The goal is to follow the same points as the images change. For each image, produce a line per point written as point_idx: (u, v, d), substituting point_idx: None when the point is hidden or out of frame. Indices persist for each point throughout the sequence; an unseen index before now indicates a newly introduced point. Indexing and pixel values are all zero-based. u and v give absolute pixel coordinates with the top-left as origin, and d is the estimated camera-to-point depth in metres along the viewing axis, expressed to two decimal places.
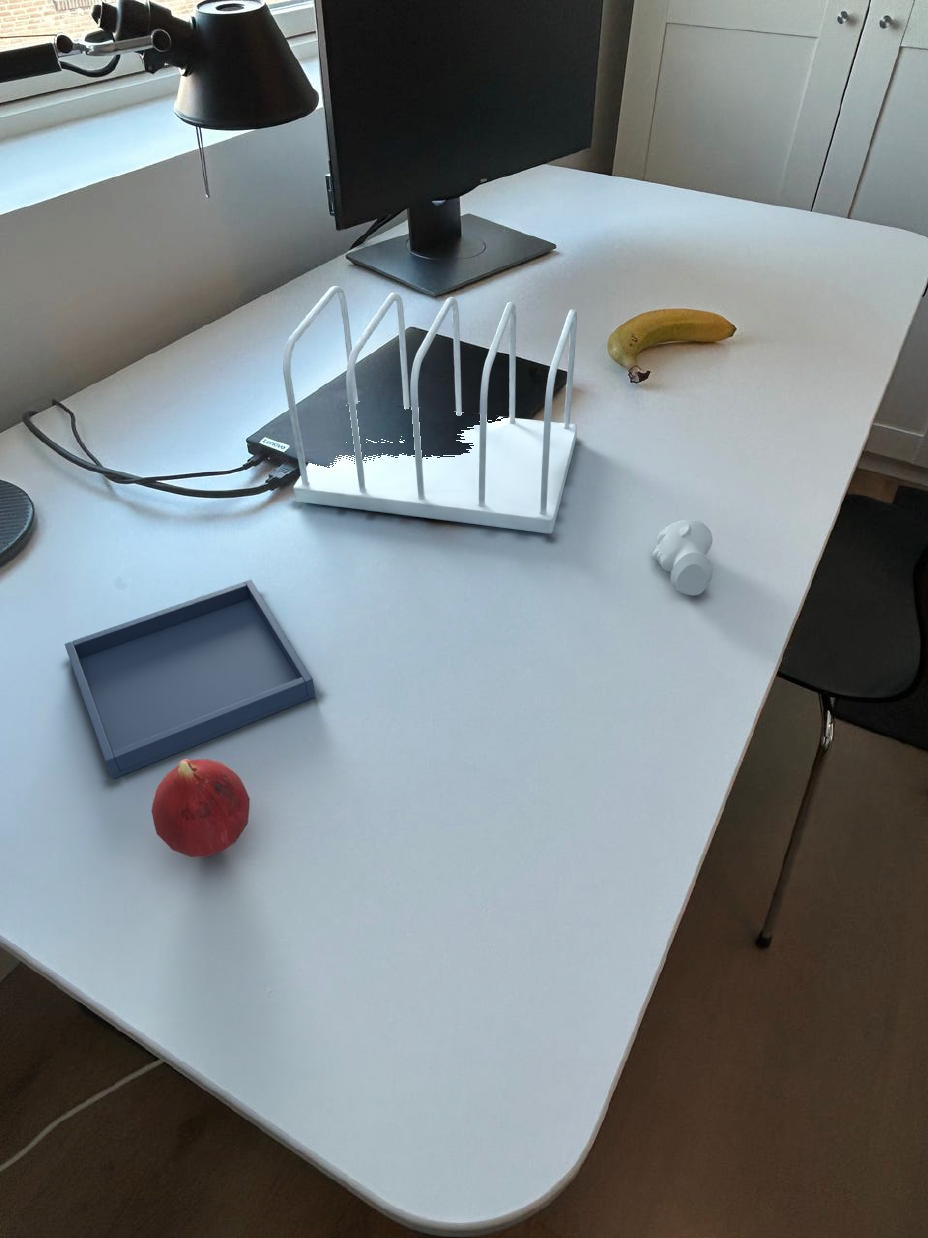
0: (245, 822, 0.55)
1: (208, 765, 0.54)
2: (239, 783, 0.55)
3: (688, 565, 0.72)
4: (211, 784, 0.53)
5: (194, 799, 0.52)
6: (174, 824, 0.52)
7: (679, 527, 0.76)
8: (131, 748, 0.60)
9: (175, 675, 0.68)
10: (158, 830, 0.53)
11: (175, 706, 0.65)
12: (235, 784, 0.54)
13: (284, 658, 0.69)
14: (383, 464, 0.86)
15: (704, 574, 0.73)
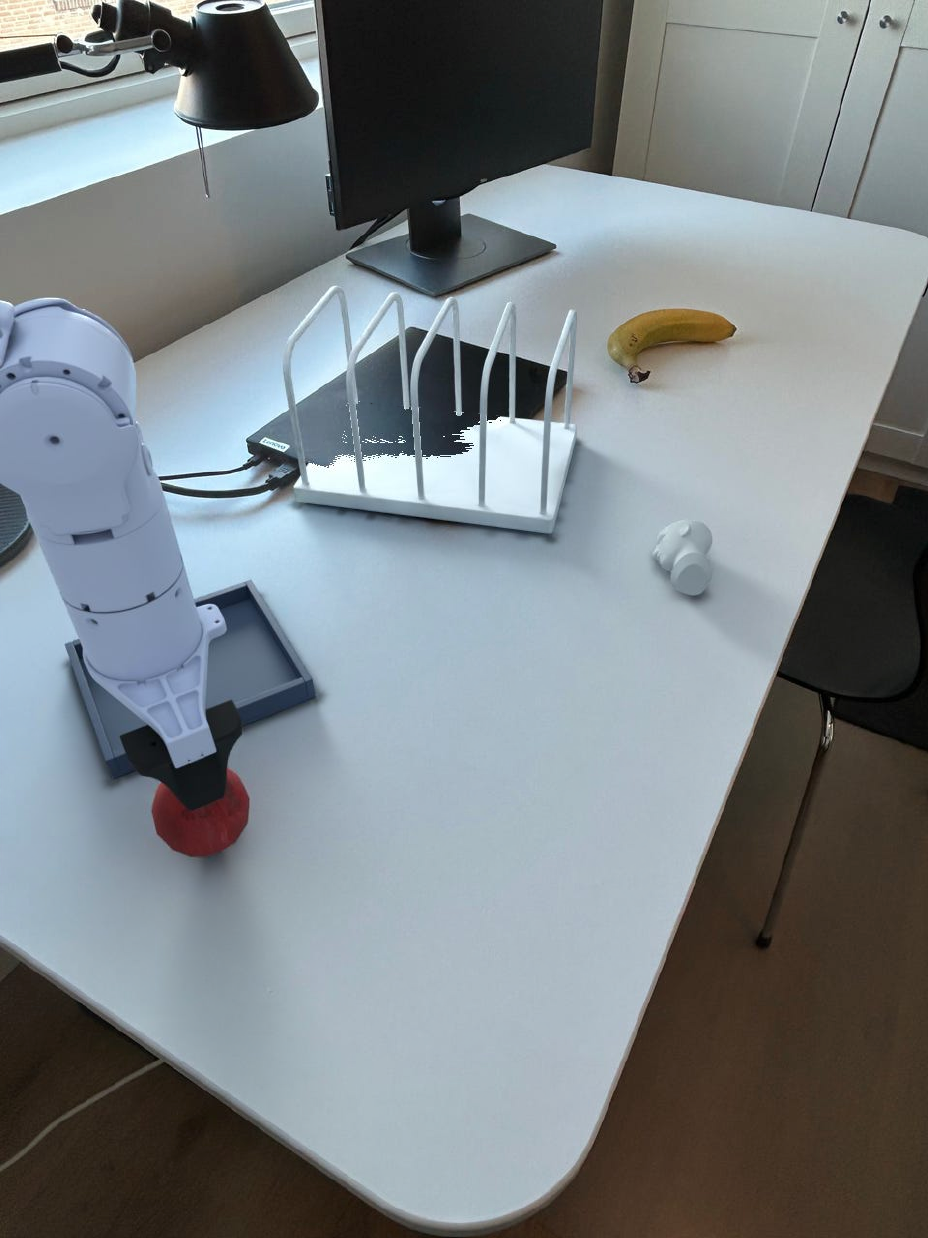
0: (245, 822, 0.55)
1: None
2: (239, 783, 0.55)
3: (688, 565, 0.72)
4: None
5: None
6: (174, 824, 0.52)
7: (679, 527, 0.76)
8: None
9: None
10: (158, 830, 0.53)
11: None
12: (235, 784, 0.54)
13: (284, 658, 0.69)
14: (383, 464, 0.86)
15: (704, 574, 0.73)
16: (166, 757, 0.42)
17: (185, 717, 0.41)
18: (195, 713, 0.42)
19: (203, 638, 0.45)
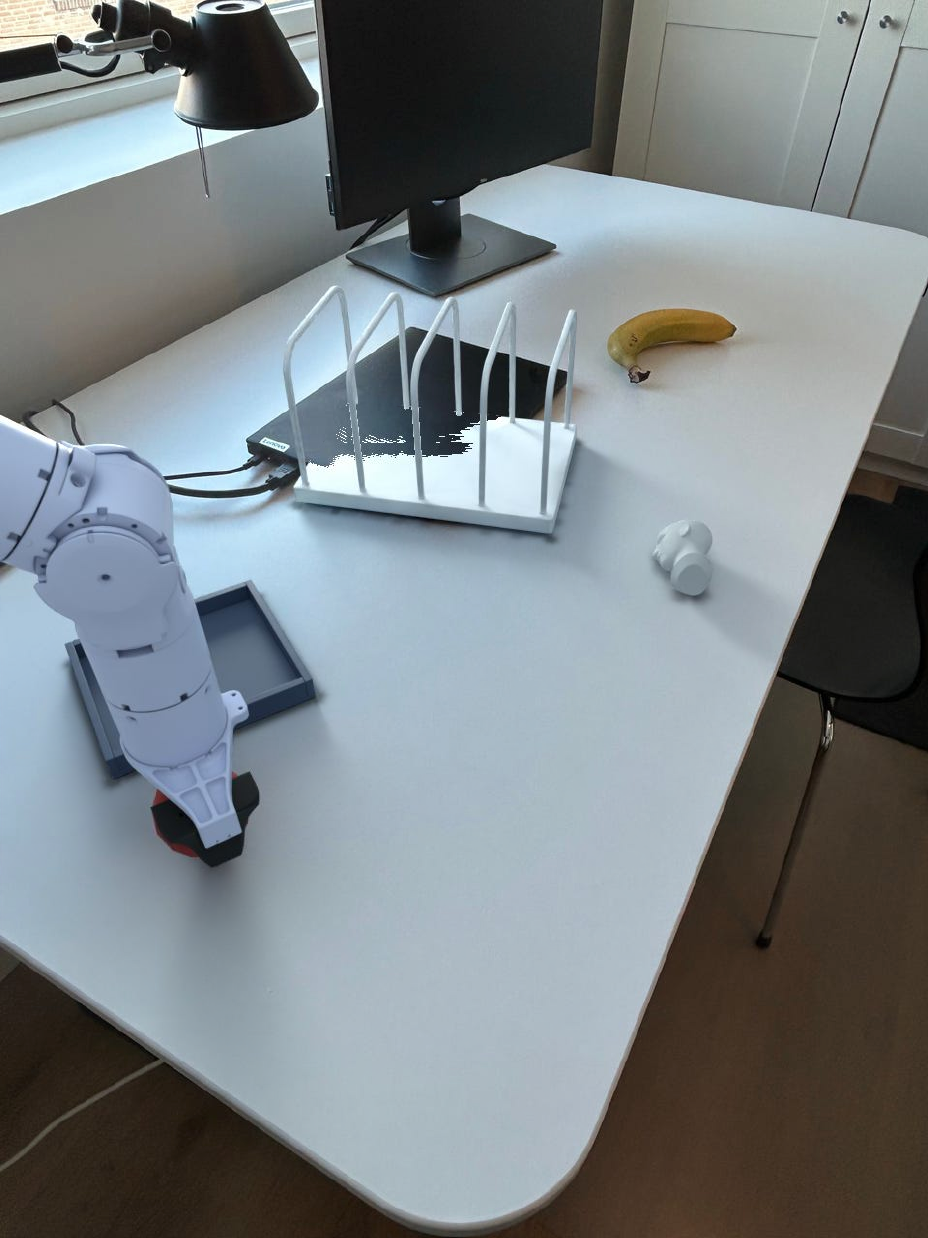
0: None
1: None
2: None
3: (688, 565, 0.72)
4: None
5: None
6: None
7: (679, 527, 0.76)
8: None
9: None
10: (158, 831, 0.53)
11: None
12: None
13: (284, 658, 0.69)
14: (383, 464, 0.86)
15: (704, 574, 0.73)
16: (192, 827, 0.47)
17: (214, 802, 0.46)
18: (222, 798, 0.46)
19: (228, 725, 0.49)
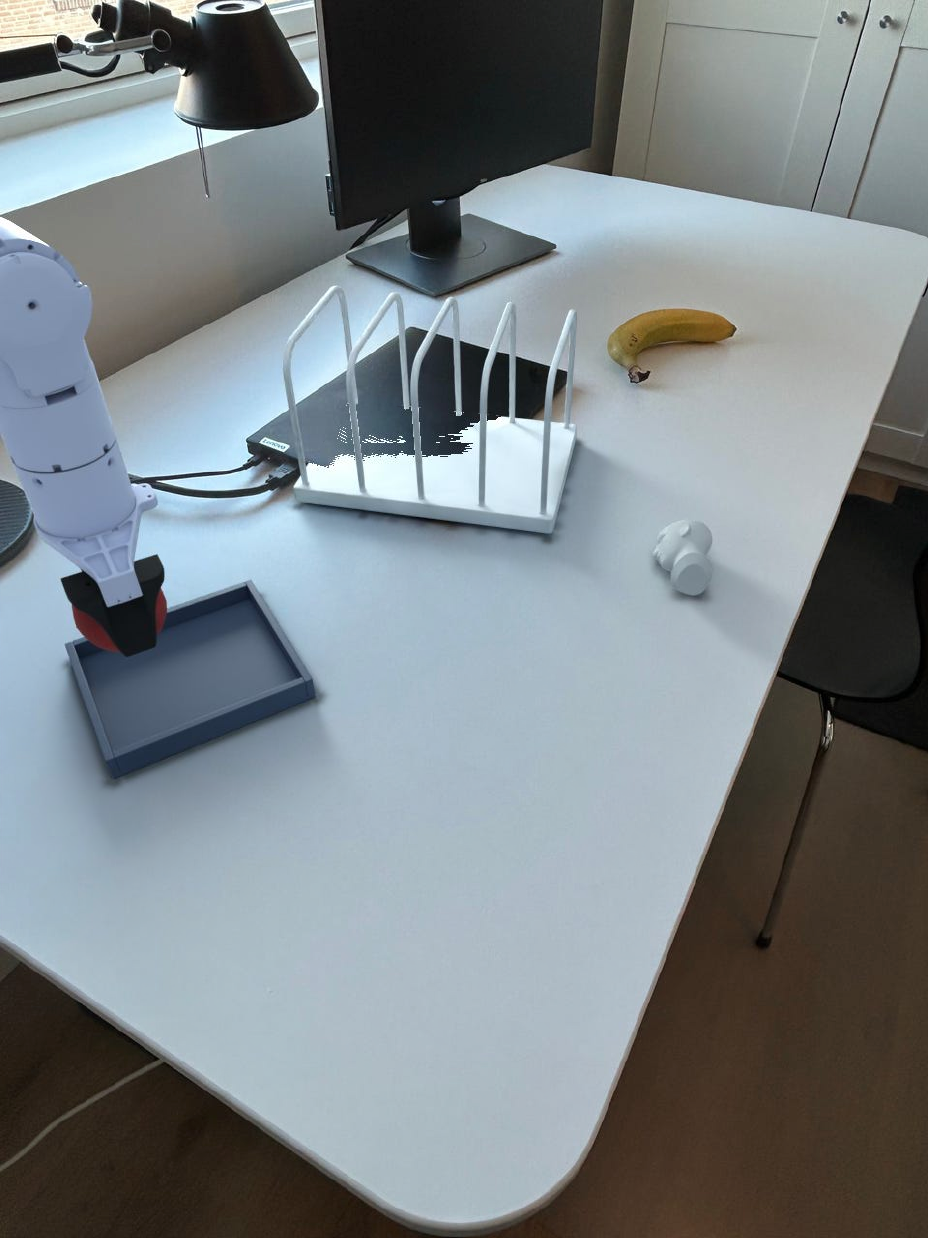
0: (161, 620, 0.58)
1: None
2: None
3: (688, 564, 0.72)
4: None
5: None
6: None
7: (679, 527, 0.76)
8: (131, 748, 0.60)
9: (175, 675, 0.68)
10: (77, 621, 0.56)
11: (175, 706, 0.65)
12: None
13: (284, 658, 0.69)
14: (383, 464, 0.86)
15: (704, 574, 0.73)
16: (98, 593, 0.50)
17: (116, 565, 0.49)
18: (125, 563, 0.50)
19: (136, 508, 0.53)
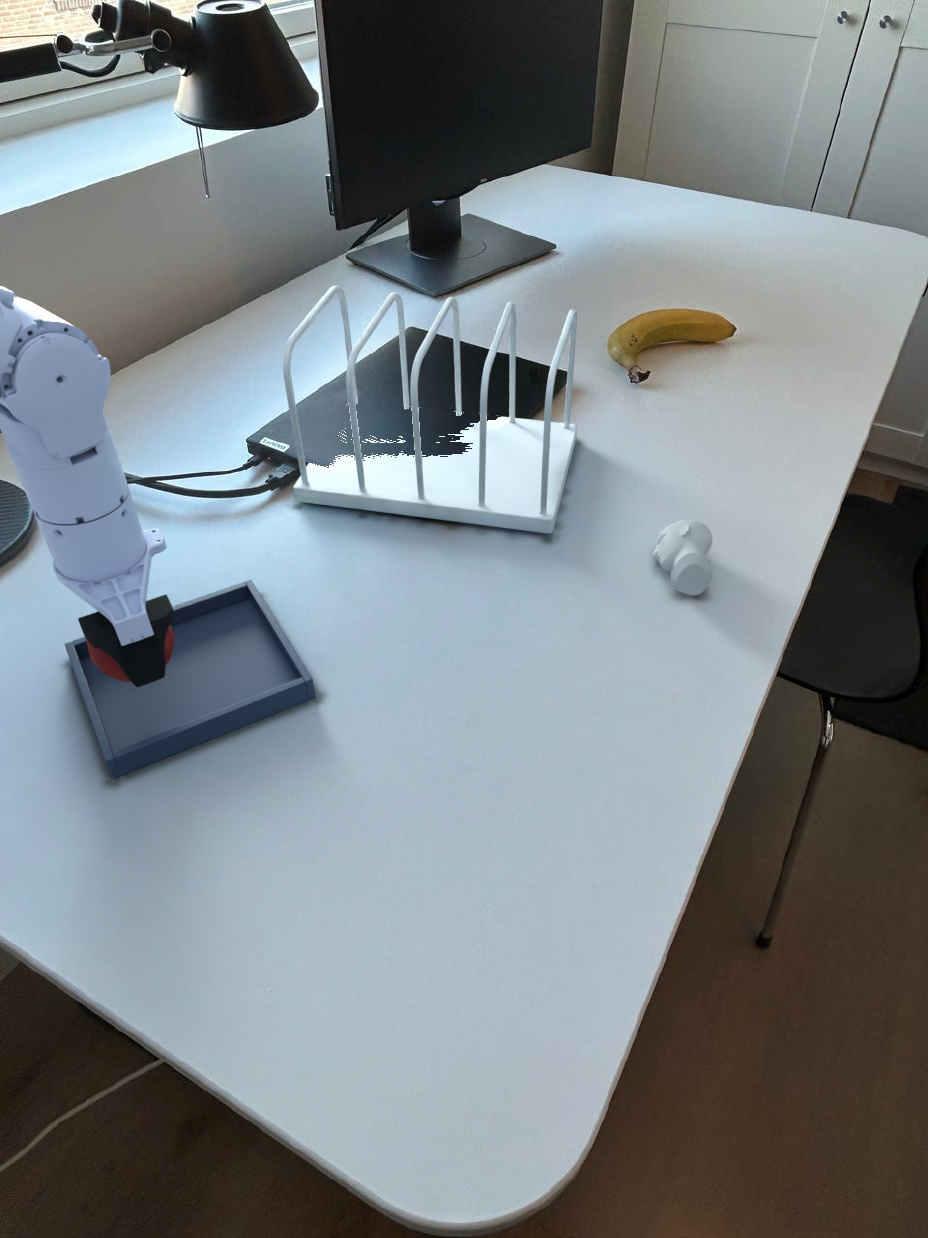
0: (169, 652, 0.63)
1: None
2: None
3: (688, 565, 0.72)
4: None
5: None
6: None
7: (679, 527, 0.76)
8: (131, 748, 0.60)
9: (175, 675, 0.68)
10: (91, 654, 0.61)
11: (175, 706, 0.65)
12: None
13: (284, 658, 0.69)
14: (383, 464, 0.86)
15: (704, 574, 0.73)
16: (112, 632, 0.55)
17: (129, 607, 0.54)
18: (137, 605, 0.54)
19: (147, 552, 0.58)
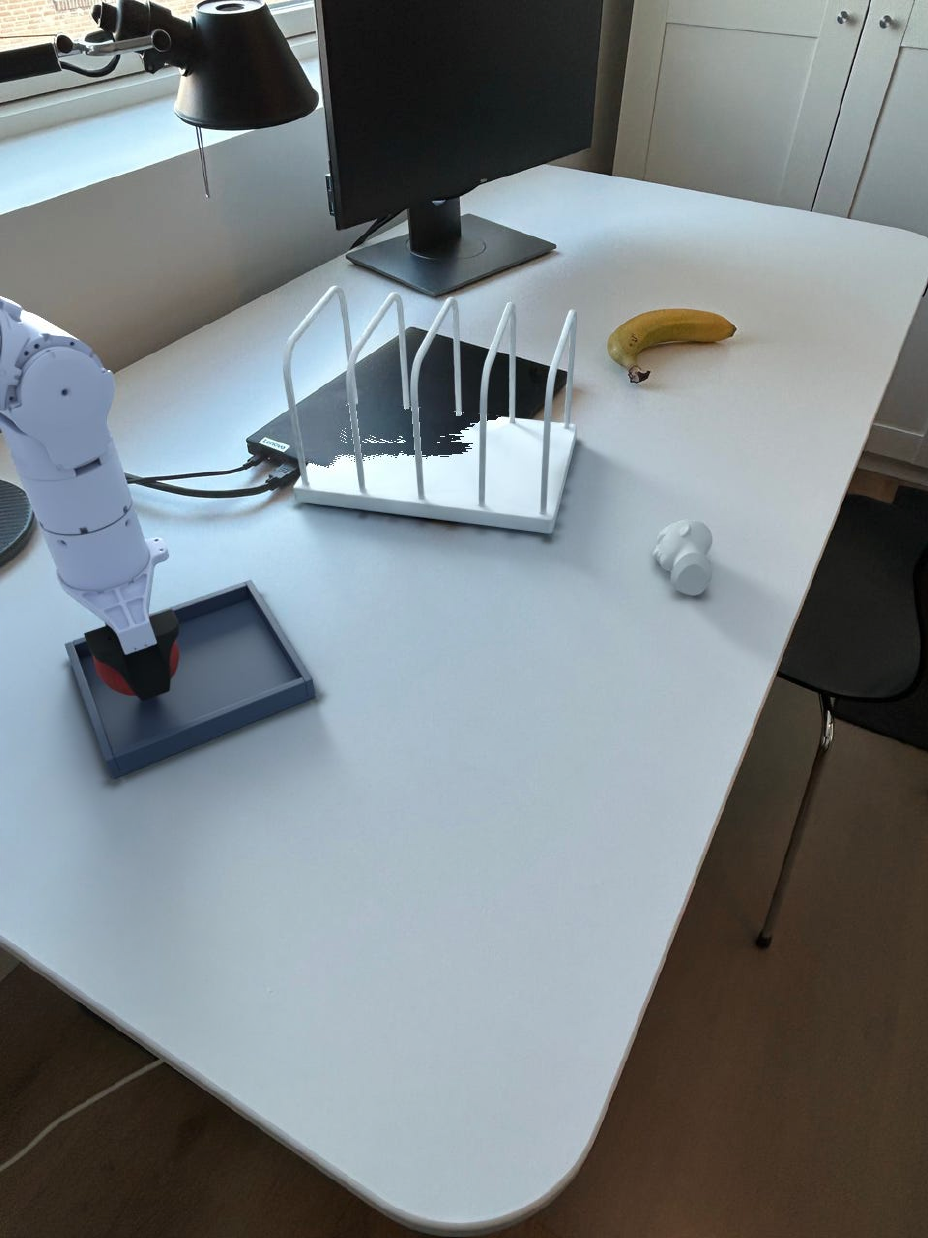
0: (174, 667, 0.64)
1: None
2: None
3: (688, 565, 0.72)
4: None
5: None
6: None
7: (679, 527, 0.76)
8: (131, 748, 0.60)
9: (175, 675, 0.68)
10: (98, 669, 0.62)
11: (175, 706, 0.65)
12: None
13: (284, 658, 0.69)
14: (383, 464, 0.86)
15: (705, 574, 0.73)
16: (119, 648, 0.55)
17: (132, 616, 0.55)
18: (140, 614, 0.55)
19: (149, 561, 0.58)
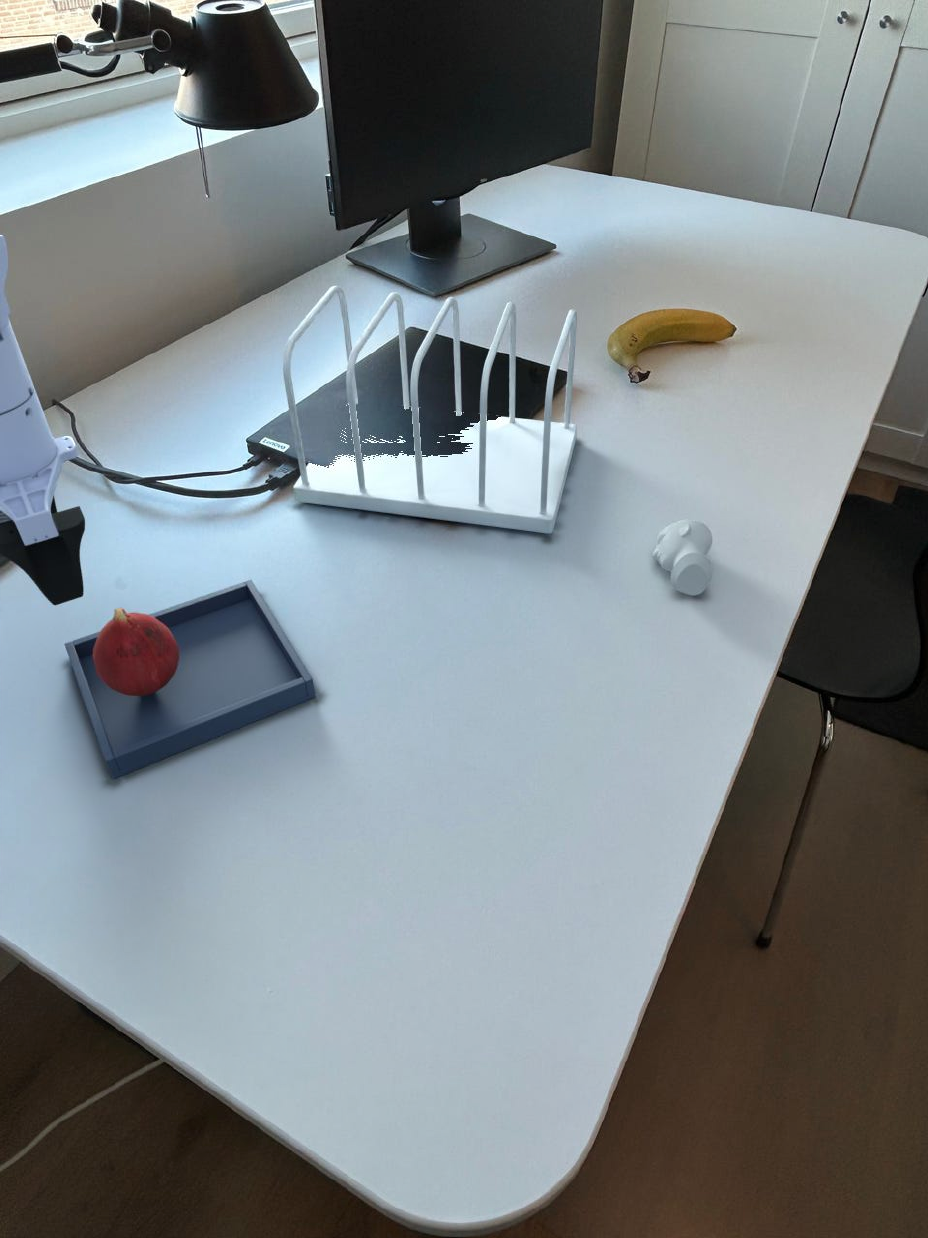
0: (174, 667, 0.64)
1: (141, 615, 0.63)
2: (169, 633, 0.64)
3: (688, 565, 0.72)
4: (142, 629, 0.62)
5: (127, 640, 0.61)
6: (110, 662, 0.61)
7: (679, 527, 0.76)
8: (131, 748, 0.60)
9: (175, 675, 0.68)
10: (98, 669, 0.62)
11: (175, 706, 0.65)
12: (165, 633, 0.63)
13: (284, 658, 0.69)
14: (383, 464, 0.86)
15: (704, 574, 0.73)
16: (20, 540, 0.54)
17: (33, 507, 0.54)
18: (42, 505, 0.54)
19: (56, 457, 0.57)
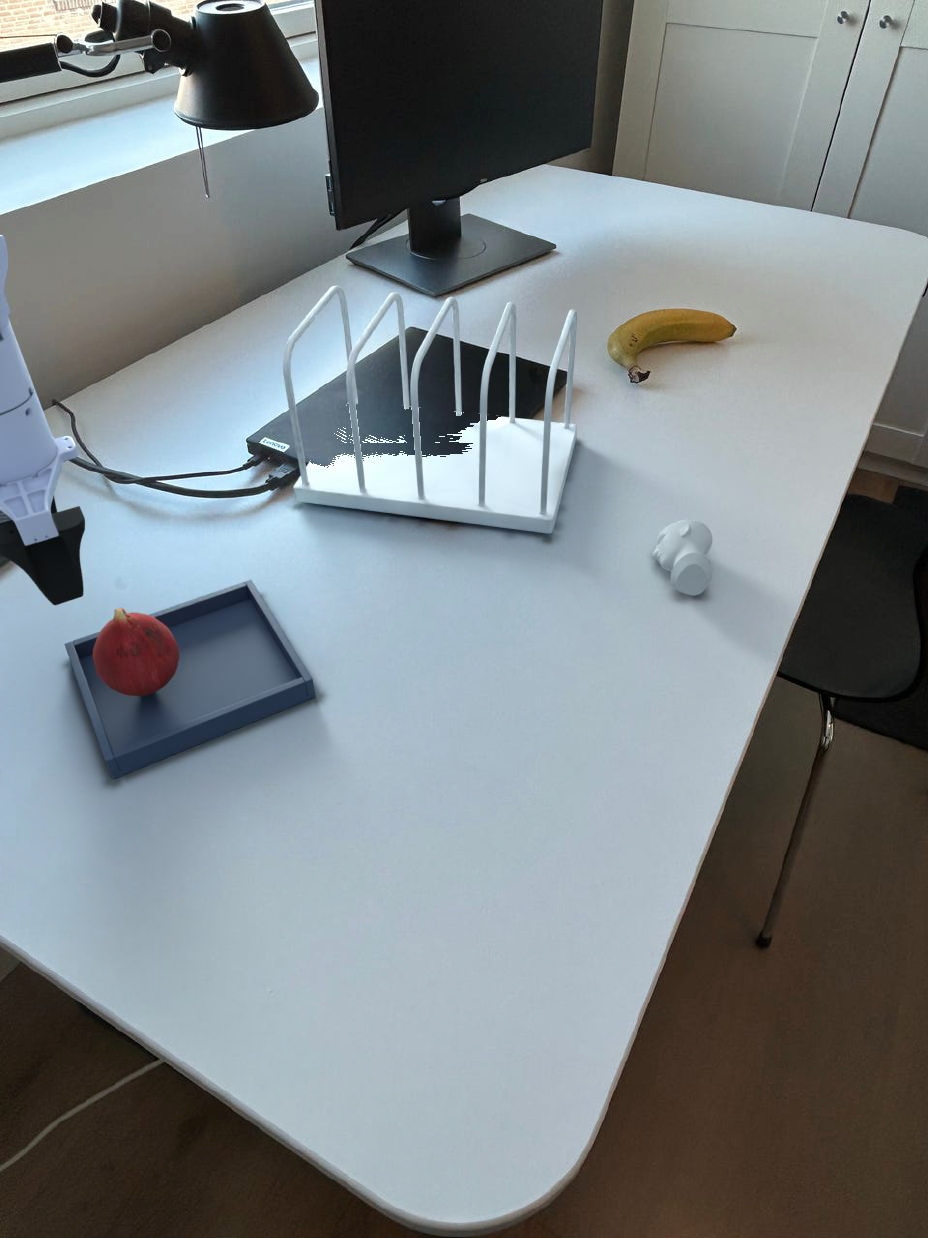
0: (174, 667, 0.64)
1: (141, 615, 0.63)
2: (169, 633, 0.64)
3: (688, 565, 0.72)
4: (142, 629, 0.62)
5: (127, 640, 0.61)
6: (110, 662, 0.61)
7: (679, 527, 0.76)
8: (131, 748, 0.60)
9: (175, 675, 0.68)
10: (98, 669, 0.62)
11: (175, 706, 0.65)
12: (165, 633, 0.63)
13: (284, 658, 0.69)
14: (383, 464, 0.86)
15: (704, 574, 0.73)
16: (20, 540, 0.54)
17: (33, 507, 0.54)
18: (42, 505, 0.54)
19: (56, 457, 0.57)
